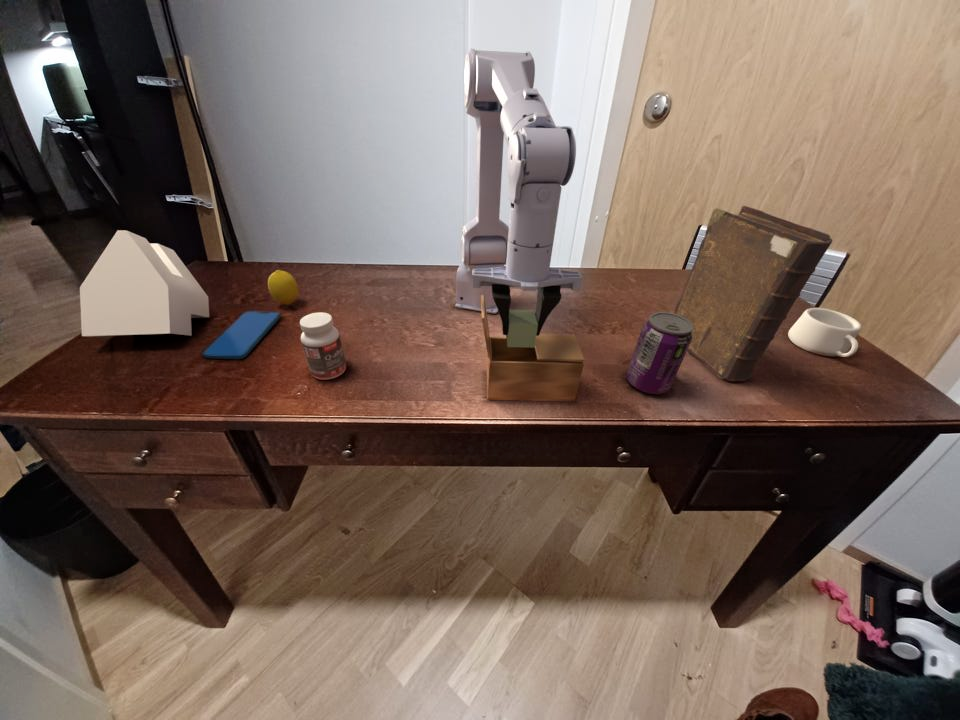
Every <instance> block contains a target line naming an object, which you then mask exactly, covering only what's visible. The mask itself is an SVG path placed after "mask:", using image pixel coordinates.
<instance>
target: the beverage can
mask: <svg viewBox="0 0 960 720" xmlns="http://www.w3.org/2000/svg"><path fill="white" fill-rule="evenodd" d="M692 330H693V324H692V323H691V322H690V321H689V320H687V319H686V318H684V317H682V316H679V315H677V314H674V313H673V312H669V311H668V312H667V311H657V312H653V313H651V314H650V315H649V316H648V319H647V321H646V322H644V323H643V325H642V327H641V330H640V332H639V335H638V338H637V341H636V344H635V346H634V347H635V348H634V350H633V353H632V356H631V358H630V362H629V364H628V367H627V371H626V374H625V376H626V380H627V381H628V383H629V384H630V385H631V386H633V387H634V388H636V389H638V390H639V391H641V392H644V393H646V394H647V393H648V394H652V395H654V394H655V395H661V394H665V393H667V392H669V391H670V390H671V388H672V386H673V383H674V382H675V378H676V376H677V374H678V372H679V370H680V367H681V365H682V363H683V361H684V358H685V356H686V355H687V352H688V351H687V350H688V347H689V345H690V343H691V341H692V333H691V332H692Z"/></svg>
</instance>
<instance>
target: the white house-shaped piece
mask: <svg viewBox="0 0 960 720" xmlns="http://www.w3.org/2000/svg"><path fill="white" fill-rule="evenodd" d="M209 303H210V302H209V296H208V294H207V293H206V292H205V290H204V288H202V286H201V285H200V283H199V282H198V281H197V280H196V278H195V277H194V275H193V274H192V273H191V271H190V270H189V269H188V268H187V266H186V265H185V263H184V262H183V261H182V259H181V258H180V256H179V255H178V254H177V253H176V251H175V250H174V249H172V248H170V247H167V246H165V245H162V244H161V243H158V242H157V243H156V242H155V243H151V242H149V241H148V239H147V238H146V237H143V236H141V235H139V234H136V233H134V232H131V231H129V230H125V229H124V230H122V229H120V230H119V229H117V230H116V232H115V234H114V235H113V237H112V238H111V240H110V241H109V243H108V244H107V246H106V247H105V249H104V250H103V252H102V253H101V255H100V256H99V258H98V259H97V261H96V262H95V264H94V265H93V267H92V268H91V270H89V273H88V274H87V276H86V277H85V279H84V281H83V282H82V283H81V285H80V286H79V305H80V325H81V337H84V338H85V337H87V338H101V339H112V336H133V335H137V336H138V335H164V334H165V335H166V334H172V335H180V336H181V335H184V336H190V337H192V336H193V333H192V319H195V318H197V319H198V318H199V319H200V318H210V305H209Z"/></svg>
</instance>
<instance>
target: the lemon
mask: <svg viewBox="0 0 960 720" xmlns="http://www.w3.org/2000/svg"><path fill="white" fill-rule="evenodd" d="M267 288H268V289H267V290H268V291H269V294H270V296H271V298H272V299H273V300H274V301H275V302H277V303H280V304H284V305H286V306H290V305H291V304H292V303H294V302H295V301H296V300H297V299H298V297H299V286H298V282H297V281H296V279H295V278H294V276H293V275H292V274H291V273H289V272H288V271H284V270H280V269H276V270H275V271H273V272H272V273H271V274H270V275H269V277H268V278H267Z"/></svg>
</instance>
